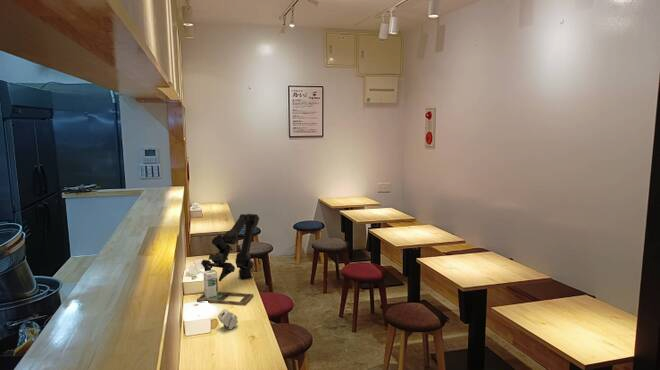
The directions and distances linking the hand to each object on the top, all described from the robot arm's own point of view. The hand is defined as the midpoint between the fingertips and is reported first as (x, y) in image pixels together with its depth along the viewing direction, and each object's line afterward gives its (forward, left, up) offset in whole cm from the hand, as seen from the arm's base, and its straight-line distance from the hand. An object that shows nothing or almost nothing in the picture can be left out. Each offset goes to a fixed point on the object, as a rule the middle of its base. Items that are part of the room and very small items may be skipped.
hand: (211, 280), depth 234 cm
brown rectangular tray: (-6, +6, -10) cm, 13 cm away
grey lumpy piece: (-1, +39, -10) cm, 40 cm away
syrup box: (+1, +1, -10) cm, 10 cm away
